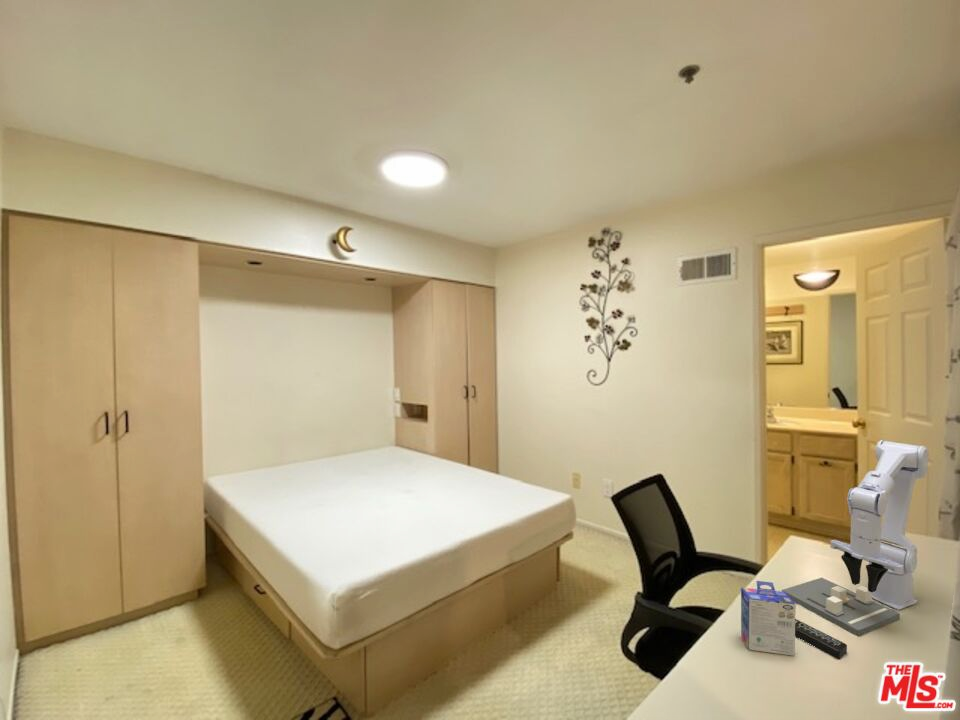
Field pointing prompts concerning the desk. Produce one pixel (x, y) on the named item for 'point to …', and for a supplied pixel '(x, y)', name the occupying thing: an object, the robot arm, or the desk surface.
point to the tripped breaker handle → (839, 593)
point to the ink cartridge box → (768, 620)
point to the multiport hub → (820, 640)
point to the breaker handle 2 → (863, 595)
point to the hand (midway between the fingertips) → (863, 587)
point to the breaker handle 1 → (834, 605)
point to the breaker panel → (855, 612)
